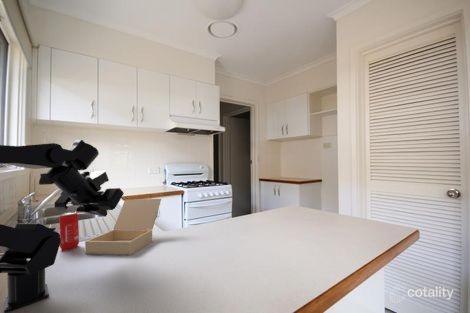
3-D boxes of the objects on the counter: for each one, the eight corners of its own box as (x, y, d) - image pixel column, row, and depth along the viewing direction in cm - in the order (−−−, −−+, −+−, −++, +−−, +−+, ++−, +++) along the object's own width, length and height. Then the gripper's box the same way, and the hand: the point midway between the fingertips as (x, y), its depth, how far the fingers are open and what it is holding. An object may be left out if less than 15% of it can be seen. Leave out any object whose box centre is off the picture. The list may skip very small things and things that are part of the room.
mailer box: (130, 255, 65) (129, 242, 65) (85, 254, 68) (85, 241, 68) (152, 241, 76) (152, 229, 77) (113, 240, 79) (113, 229, 80)
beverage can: (68, 251, 71) (67, 215, 71) (56, 251, 72) (55, 215, 72) (82, 245, 76) (81, 211, 76) (70, 245, 77) (70, 211, 77)
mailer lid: (160, 198, 84) (161, 199, 84) (124, 199, 87) (125, 200, 87) (151, 229, 77) (152, 229, 77) (113, 229, 80) (113, 229, 80)
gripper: (118, 160, 60) (143, 193, 71) (64, 163, 64) (95, 195, 74) (95, 191, 52) (127, 224, 63) (34, 193, 56) (74, 224, 66)
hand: (105, 215), depth 66 cm, fingers closed
